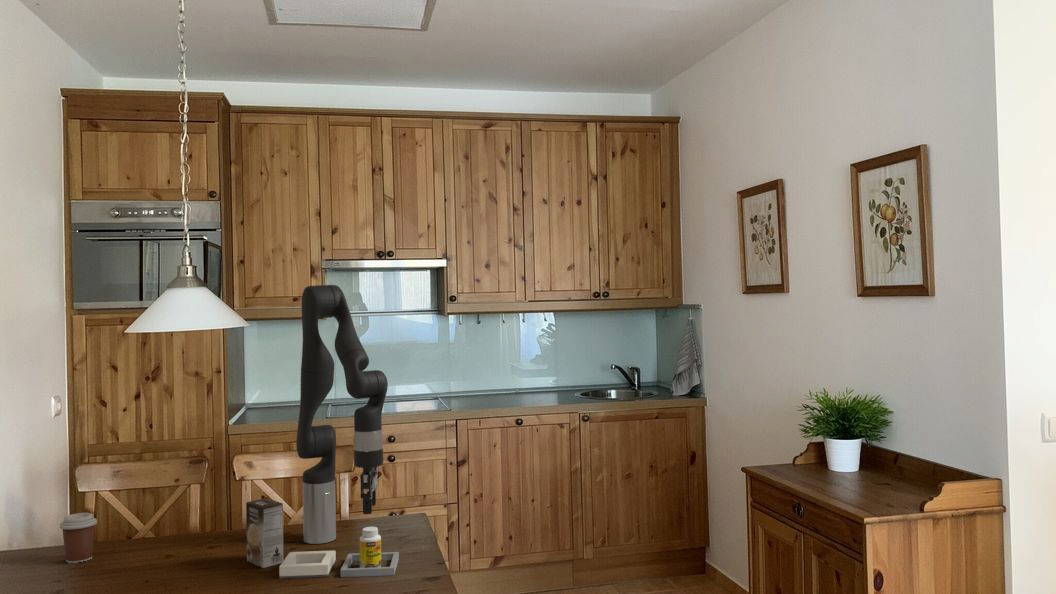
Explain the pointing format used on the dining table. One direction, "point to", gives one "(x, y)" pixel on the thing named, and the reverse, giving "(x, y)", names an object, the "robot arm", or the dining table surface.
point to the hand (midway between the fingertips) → (369, 509)
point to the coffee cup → (78, 536)
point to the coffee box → (264, 532)
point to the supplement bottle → (370, 548)
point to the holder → (307, 564)
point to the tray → (372, 571)
